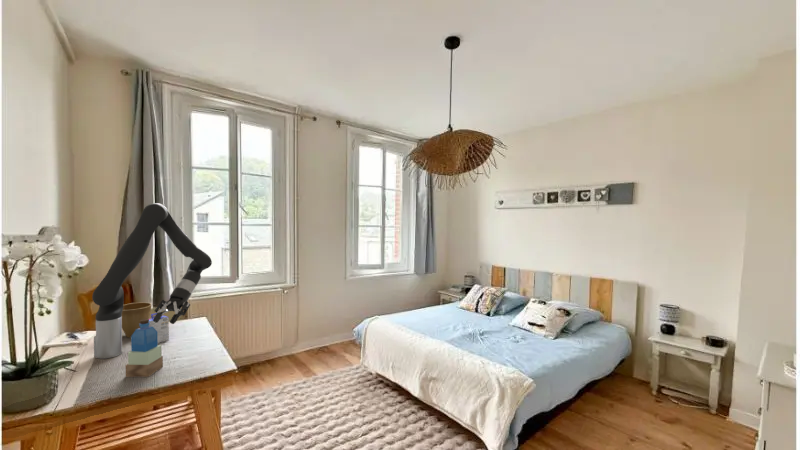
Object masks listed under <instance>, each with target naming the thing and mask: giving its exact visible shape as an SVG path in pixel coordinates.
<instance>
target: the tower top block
mask: <svg viewBox="0 0 800 450" xmlns="http://www.w3.org/2000/svg"><path fill="white" fill-rule="evenodd" d="M127 354H128V355H127V364H128V365H149V364H150V363H152V362H154V361H155V360H157V359H159V358H160V357H162V356H163V355H162V345H161V344H158V346H157V347H155V348H153V349H151V350H148V351H146V352H138V351H131V350H130V351H129V352H127Z"/></svg>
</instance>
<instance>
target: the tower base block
mask: <svg viewBox="0 0 800 450" xmlns="http://www.w3.org/2000/svg"><path fill="white" fill-rule="evenodd" d="M163 361H164V356H163V355H162V357H160V358H159V359H157V360H155V361H154V362H152V363H150V364H149V365H128V363H126V365H125V377H126V378H127V377H128V378H131V377H132V378H134V377H135V378H141V377H142V378H143V377H144V378H145V377H151V376H152V375H153V374H155V373H156V372H157V371H159V370H160V369H162V368H163V367H164V362H163Z"/></svg>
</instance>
